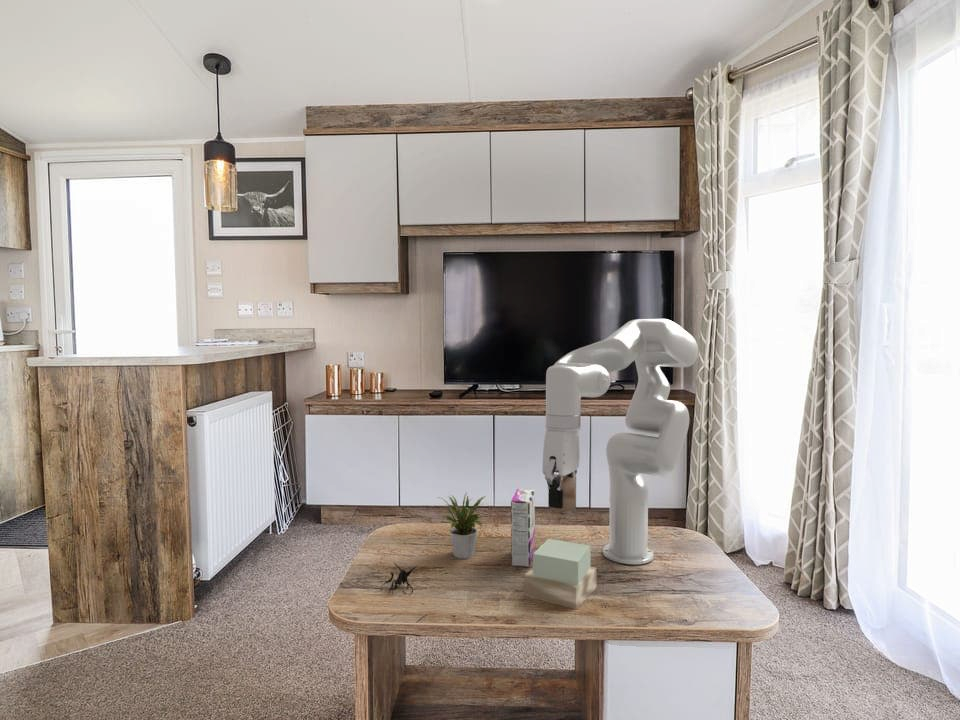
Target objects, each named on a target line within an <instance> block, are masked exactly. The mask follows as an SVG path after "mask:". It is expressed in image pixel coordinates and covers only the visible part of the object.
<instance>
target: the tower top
mask: <svg viewBox="0 0 960 720" xmlns="http://www.w3.org/2000/svg"><path fill="white" fill-rule="evenodd" d="M591 548H592V546H591V545H588V544H581V543H576V542H570V541H565V540H558V539H552V538H547V539H546V540H545V542H544V543H542V544H541V545H540V546H539V547H538V548H537V549H535V551H534V553H533V558H532V562H533V563H532V569H533V576H534V577H539V578H544V579H549V580H554V581H559V582H564V583H569V584H574V585H579V583H580V582H581V580H582V579H583V577H584V576H585V575H586V573H587V572H588V570H589V569H590V566H591V564H592V563H591V561H592V560H591V558H592V556H591V552H592V551H591Z"/></svg>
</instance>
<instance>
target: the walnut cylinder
mask: <svg viewBox="0 0 960 720" xmlns="http://www.w3.org/2000/svg"><path fill="white" fill-rule="evenodd" d="M554 479H556V481H557V483H558V479H559V478H554ZM561 490H563V508H562V509H558V508H553V507H549V506H548V508H549V509H551V510H555V511H563V512H566V511H574V510H575V509H576V508H577V478H576V479H575V478H572V477H567V476H564V477H563V482H562V488H561Z"/></svg>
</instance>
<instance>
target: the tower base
mask: <svg viewBox="0 0 960 720" xmlns="http://www.w3.org/2000/svg"><path fill="white" fill-rule="evenodd" d="M597 569H598V567H595V566H591V565H590V569H589V570H588V572H587V573H586V575H585V576H584V577H583V579H582V580H581V582H580V583H579V585H574V584H569V583H564V582H559V581H554V580H549V579H544V578H539V577H534V576H533V568H531V569H530V570H529V571H528V572H526V573H525V574H524V578H523V579H524V583H523V584H524V585H523V587H524V589H523V590H524V592H523V594H524V596H525V597H529V598H533V599H536V600H540V601H544V602H548V603H552V604H555V605H557V606H558V605H559V606H562V607H566V608H570V609H573V610H576V609H578V607H580V605H581V604H583V602H585V600H586V599H587V598H588V597H589V596H590V595H591V594H592V593H593V592H594V591H595V590H596V589H597V575H598V574H597Z"/></svg>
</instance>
